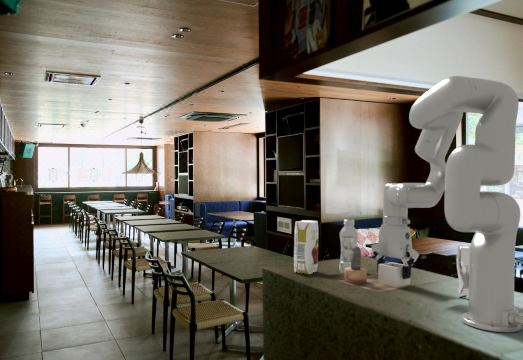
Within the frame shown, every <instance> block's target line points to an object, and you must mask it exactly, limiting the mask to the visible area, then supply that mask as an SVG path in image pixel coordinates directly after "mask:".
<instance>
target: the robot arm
mask: <svg viewBox="0 0 523 360" xmlns="http://www.w3.org/2000/svg"><path fill="white" fill-rule="evenodd" d="M518 97H519V96H518V94H517V92H516V91H515V89H514V88H512V86H510V85H509V84H507V83H504V82H501V81H497V80H491V79H487V78H485V79H484V78H479V77H478V78H477V77H471V76H463V75H462V76H461V75H453V76H449V77H446V78H444V79H443V80H441V81H440V82H438V83H437V84H435V85H433V87H431V88H430V89H428V91H426V92H424V93H423V94H422V95H421V96H419V98H417V100H415V102H414V103H413V104H412V105H411V108H410V111H409V114H408V115H409V117H408V119H409V120H408V121H409V123H410V124H411V126H412V127H414V128H415V129H418V130H421V132H420V135H419V137H418V140H417V143H416V144H415V147H414V151H415V154H417V155H418V157H420V158H421V159H423V160H425V161H426V162H428V163H429V165H430V171H429V175H428V177H427V180H426V181H425V182H401V183H400V182H399V183H398V182H393V183H392V182H390V183H389V182H388V183H386V184H384V186H383V199H382V201H383V202H382V224H381V226H380V228H379V229H380V230H379V236H378V240H377V241H378V242H377V243H375V244H372V245H371V251H372V254H373V256H374V257H375V260H376V273H377V274H378V264H384V263H386V260H385V258H386V257H387V258H391V259H392V258H393V259H397V260H401V261H402V263H403V264H404V265H405V266H403V275H402V278H403V279H408V278H410V279H411V276H412V266H413V265H414V264H415V263H416V262H417V259H418V258H419V256H420V253H419V252H418V251H417V250H416V249H414V248H413V244H412V243H413V242H412V233H411V229H410V228H411V227H410V226H408V225H410V224H411V220H410V219H409V217H408V214H409V213H408V212H409V211H408V210H409V209H414V208H415V209H416V208H417V209H419V208H421V209H422V208H423V209H425V208H427V209H428V208H429V209H430V208H432V207H435V206H436V205H437V204H438V202H439V201H440V200H441V198H442V196H443V194H444V203H443V204H444V217H445V220H446V222H447V224H448V225H449V227H451V228H452V229H453V230H454V231H458V232H461V233H474V235H473V238H472V240H471V242H470V245H469V246H470V261H469V300H468V311H467V312H462V314H461V321H462V322H463V323H464V324H466V325H468V326H471V327H473V328H476V329H480V330H483V331H487V332H489V331H490V332H495V333H496V332H498V333H517V332H520V331H521V329H522V327H523V315H521V313H519V308H518V307H515V267H516V265H515V263H516V262H515V261H516V241H517V234H518V229H519V224H520V221H521V209H520V206H519V203H518V201H517V200H516V199H515V198H514V197H513V196H511V195H509V194H507V193H504V192H501V191H484V190H483V191H481V187H482V186H484V187H487V186H488V187H491V186H492V187H495V186H496V187H497V186H503V185H507V184H508V183H510V181H512V179H513V177H514V174H515V166H516V165H515V163H516V162H515V161H516V129H517V119H518V113H519V105H520V104H519V103H520V102H519V98H518ZM464 113H469V114H470V113H472V114H481V115H482V116H481V117H480V118H479V120H478V122H477V125H476V127H475V132H474V135H475V137H474V138H475V139H474V144H461V145H459V146H457V147H456V148H455V149H453V151H451V153H450V154H449V156H448V158H447V161H446V159H445V158H446V155H447V154H448V151H449V149H450V147H451V144H452V142H453V139H454V137H455V135H456V133H457V130H458V129H459V126H460V124H461V121H462V119H463V116H464Z"/></svg>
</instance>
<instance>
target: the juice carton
mask: <svg viewBox="0 0 523 360" xmlns="http://www.w3.org/2000/svg"><path fill="white" fill-rule="evenodd" d="M293 241H294V242H293V243H294V244H293V246H294V247H293V267H294V268H293V271H294V273H296V272H297V274H303V273H304V275H305V274H306V275H311V274H313V272H314V273H315V272H317V269H318V263H319V221H318V220H312V219H311V220H309V219H307V220H305V219H302V220H299V221H295V223H294V238H293Z"/></svg>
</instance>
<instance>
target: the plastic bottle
mask: <svg viewBox="0 0 523 360" xmlns="http://www.w3.org/2000/svg"><path fill="white" fill-rule="evenodd" d="M343 225H344V226H343V227H342V228H341V230H340V231H339V240H340V260H339V265H338V269H339V271H340V273H341V274H345V268H347V267H351V249H352V247H354V246H358V236H359V233H358V231H357V229H356V228H355V227H354V226H355V220H354V219H343Z"/></svg>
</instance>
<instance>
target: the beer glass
mask: <svg viewBox="0 0 523 360" xmlns="http://www.w3.org/2000/svg"><path fill="white" fill-rule="evenodd" d="M470 246H471V245H458V246H457V250H456V260H455V261H456V271H457V272H456V273H457V277H458V293H459V294H462V295H461V296H458V298H459V299H461V300H466V301H469V261H470Z"/></svg>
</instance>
